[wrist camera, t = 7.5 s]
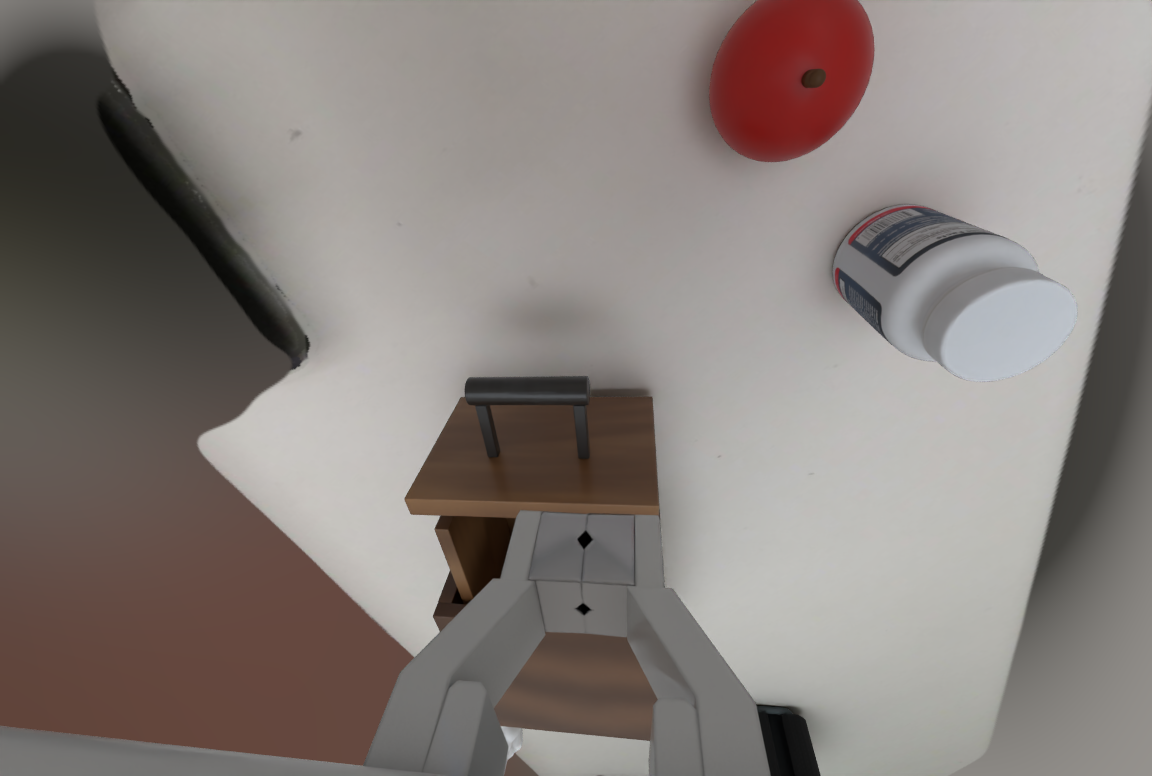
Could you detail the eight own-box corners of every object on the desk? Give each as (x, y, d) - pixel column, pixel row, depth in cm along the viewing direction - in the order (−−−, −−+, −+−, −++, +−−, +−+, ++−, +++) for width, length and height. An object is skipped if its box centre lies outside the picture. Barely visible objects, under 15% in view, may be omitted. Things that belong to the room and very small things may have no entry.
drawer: (442, 330, 27) (370, 421, 20) (653, 325, 25) (662, 422, 18) (499, 537, 38) (466, 646, 30) (649, 543, 36) (653, 660, 29)
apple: (706, 4, 18) (737, -32, 13) (854, -14, 17) (954, -60, 12) (696, 157, 21) (718, 181, 16) (821, 148, 20) (889, 170, 15)
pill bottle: (910, 311, 24) (1031, 408, 17) (813, 298, 24) (891, 388, 17) (969, 209, 21) (1147, 273, 14) (858, 195, 21) (976, 251, 14)
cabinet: (482, 483, 35) (432, 616, 27) (658, 487, 34) (666, 631, 25) (513, 596, 44) (483, 724, 35) (654, 604, 42) (659, 742, 33)
